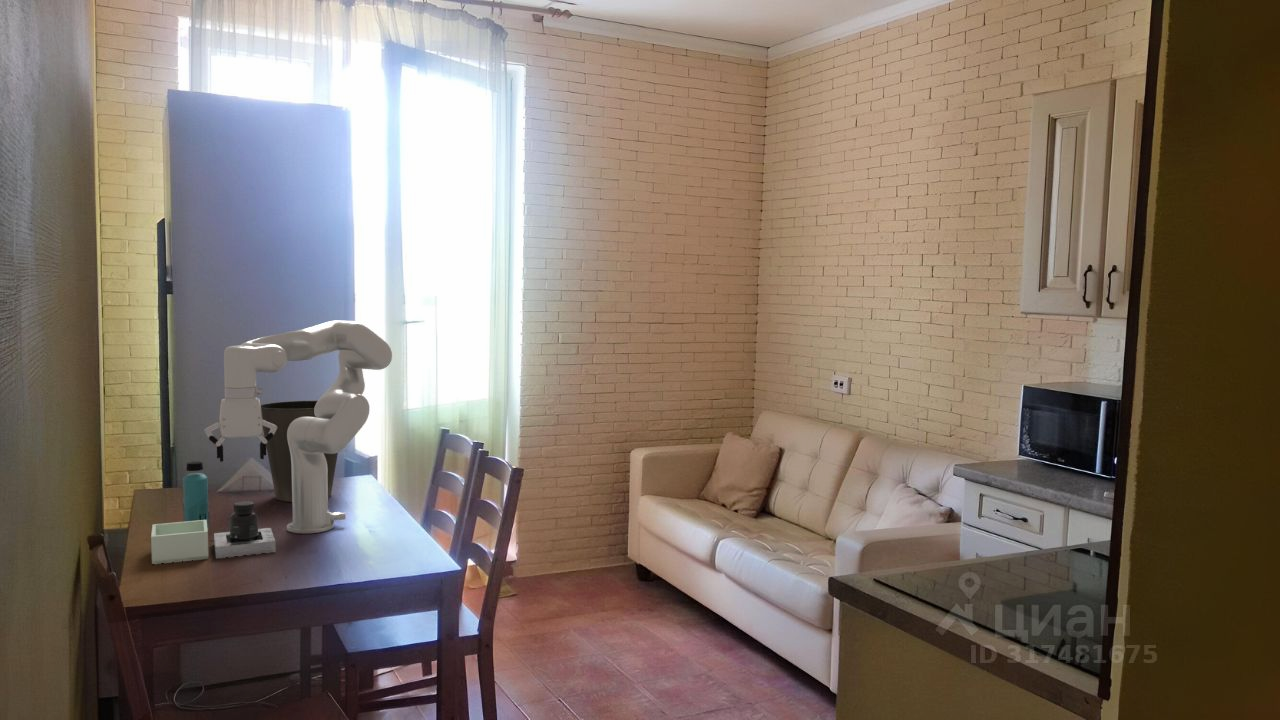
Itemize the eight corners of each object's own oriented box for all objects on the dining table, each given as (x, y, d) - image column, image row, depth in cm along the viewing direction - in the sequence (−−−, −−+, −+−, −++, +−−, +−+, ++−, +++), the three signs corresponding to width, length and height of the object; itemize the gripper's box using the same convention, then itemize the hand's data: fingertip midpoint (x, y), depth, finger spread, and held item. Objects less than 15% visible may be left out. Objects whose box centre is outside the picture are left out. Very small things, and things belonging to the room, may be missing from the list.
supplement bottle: (224, 550, 246) (223, 504, 245) (245, 543, 252) (244, 499, 251) (243, 553, 243) (242, 507, 242) (264, 546, 249) (263, 502, 248)
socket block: (270, 538, 257) (270, 527, 257) (275, 552, 244) (275, 541, 244) (214, 544, 251) (214, 533, 250) (216, 558, 238) (215, 547, 238)
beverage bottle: (199, 537, 257) (197, 464, 255) (178, 536, 258) (176, 463, 256) (215, 531, 263) (213, 460, 261) (194, 530, 264) (192, 459, 263)
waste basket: (338, 486, 322) (337, 398, 319) (356, 498, 305) (354, 405, 302) (254, 494, 307) (252, 402, 305) (267, 508, 290) (265, 410, 288)
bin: (207, 545, 249) (206, 519, 249) (208, 558, 238) (207, 531, 237) (153, 551, 244) (152, 524, 243) (152, 564, 233) (151, 536, 232)
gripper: (275, 391, 251) (276, 455, 252) (203, 393, 244) (204, 459, 245) (277, 394, 244) (278, 460, 246) (203, 396, 237) (205, 464, 238)
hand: (241, 459), depth 245 cm, fingers open, 9 cm apart
